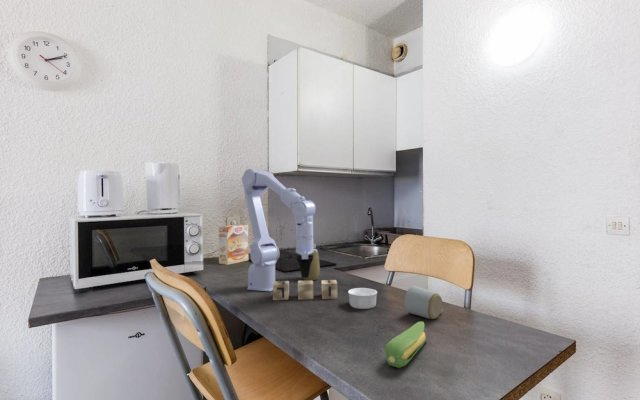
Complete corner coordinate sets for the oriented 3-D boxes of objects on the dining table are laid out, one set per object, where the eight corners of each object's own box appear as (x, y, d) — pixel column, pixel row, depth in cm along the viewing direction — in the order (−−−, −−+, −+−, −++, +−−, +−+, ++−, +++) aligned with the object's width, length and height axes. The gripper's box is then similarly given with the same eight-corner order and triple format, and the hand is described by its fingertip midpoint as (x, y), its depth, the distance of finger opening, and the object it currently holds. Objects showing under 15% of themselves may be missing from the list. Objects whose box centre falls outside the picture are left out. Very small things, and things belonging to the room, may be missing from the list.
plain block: (298, 299, 110) (297, 284, 110) (298, 295, 115) (298, 280, 115) (313, 299, 110) (313, 284, 110) (312, 295, 115) (312, 280, 115)
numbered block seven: (272, 300, 109) (272, 284, 109) (274, 295, 114) (274, 280, 114) (288, 300, 109) (288, 284, 109) (289, 295, 114) (288, 280, 114)
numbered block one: (322, 299, 110) (322, 283, 110) (321, 294, 115) (321, 279, 115) (337, 298, 110) (337, 283, 110) (336, 294, 115) (335, 279, 115)
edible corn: (376, 345, 65) (397, 344, 62) (413, 318, 81) (431, 316, 79) (383, 374, 64) (405, 373, 61) (419, 340, 80) (438, 339, 78)
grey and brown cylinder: (430, 323, 87) (430, 293, 87) (403, 315, 93) (403, 287, 94) (450, 314, 94) (449, 287, 95) (423, 307, 101) (423, 282, 101)
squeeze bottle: (320, 281, 133) (319, 236, 133) (299, 281, 133) (299, 236, 133) (320, 276, 141) (319, 234, 141) (301, 277, 141) (300, 234, 141)
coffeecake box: (227, 265, 169) (227, 226, 169) (218, 263, 173) (217, 225, 173) (249, 260, 182) (248, 224, 182) (239, 259, 186) (239, 223, 186)
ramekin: (342, 305, 103) (342, 291, 103) (359, 299, 109) (359, 286, 109) (366, 312, 97) (366, 297, 97) (382, 304, 103) (382, 290, 103)
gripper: (317, 238, 105) (317, 282, 105) (315, 234, 120) (316, 272, 120) (294, 239, 105) (295, 282, 105) (296, 234, 119) (296, 272, 119)
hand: (305, 277), depth 112 cm, fingers closed
